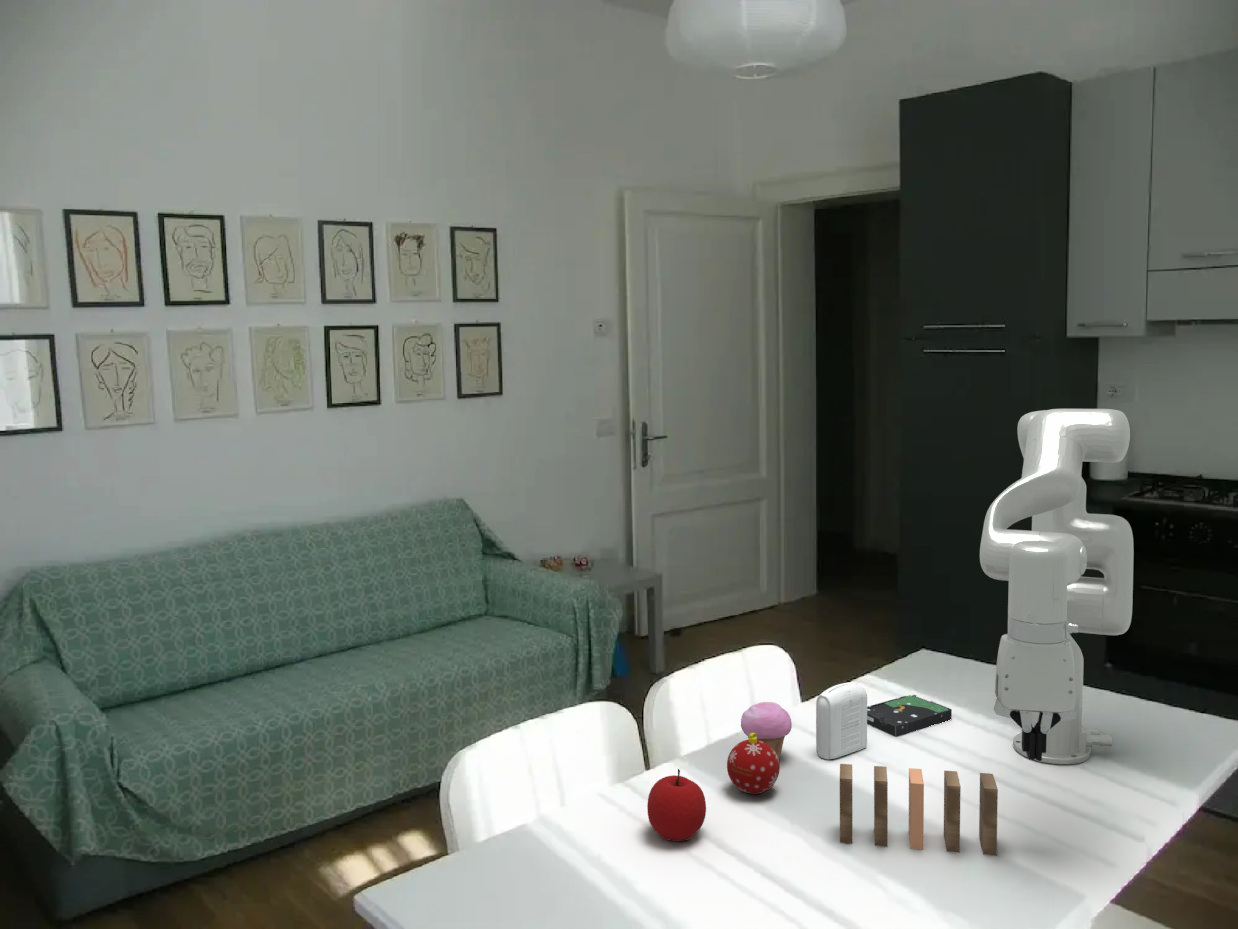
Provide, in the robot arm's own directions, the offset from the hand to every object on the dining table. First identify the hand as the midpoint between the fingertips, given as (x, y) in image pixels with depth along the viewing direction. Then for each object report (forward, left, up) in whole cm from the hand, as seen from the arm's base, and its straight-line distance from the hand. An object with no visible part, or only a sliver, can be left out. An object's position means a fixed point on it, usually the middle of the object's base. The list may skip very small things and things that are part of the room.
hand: (1033, 756), depth 140 cm
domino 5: (+6, -1, -14) cm, 15 cm away
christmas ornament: (+41, -13, -15) cm, 45 cm away
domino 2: (+21, -1, -14) cm, 25 cm away
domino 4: (+11, -1, -14) cm, 18 cm away
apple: (+51, +3, -15) cm, 53 cm away
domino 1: (+26, -1, -14) cm, 30 cm away
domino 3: (+16, -1, -14) cm, 21 cm away
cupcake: (+40, -26, -15) cm, 50 cm away
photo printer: (+27, -31, -15) cm, 43 cm away
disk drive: (+15, -47, -15) cm, 52 cm away
